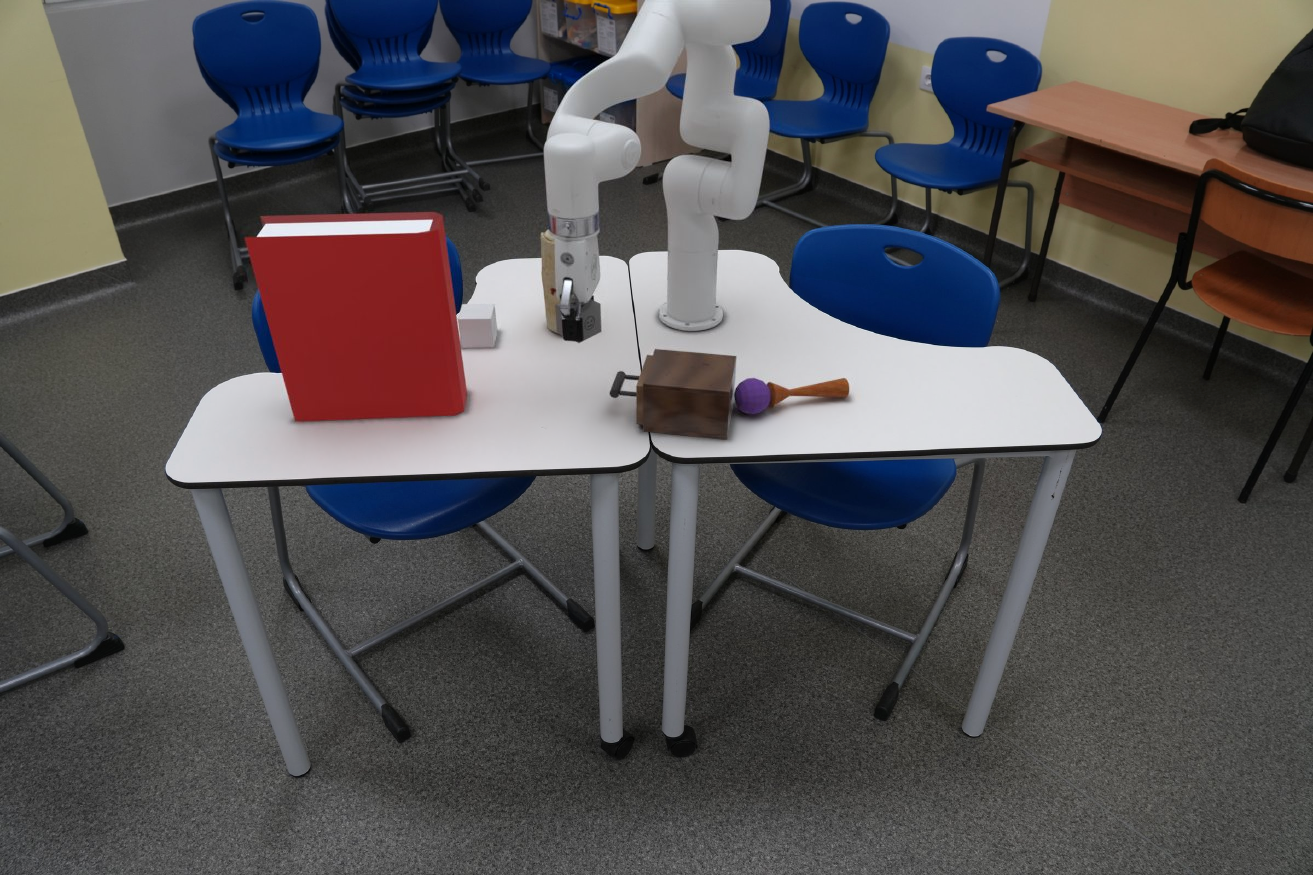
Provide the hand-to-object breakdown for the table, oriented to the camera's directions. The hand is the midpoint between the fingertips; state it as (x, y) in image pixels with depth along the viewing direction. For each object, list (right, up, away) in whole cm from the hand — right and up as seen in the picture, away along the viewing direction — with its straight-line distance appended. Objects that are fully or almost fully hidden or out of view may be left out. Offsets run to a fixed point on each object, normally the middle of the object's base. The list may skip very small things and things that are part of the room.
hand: (579, 328), depth 144 cm
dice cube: (0, -1, +1) cm, 1 cm away
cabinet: (+18, -14, +6) cm, 23 cm away
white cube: (-21, +1, +27) cm, 34 cm away
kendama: (+35, -12, +9) cm, 38 cm away
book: (-34, -12, +9) cm, 37 cm away
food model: (-6, +4, +32) cm, 32 cm away
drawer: (+14, -13, +6) cm, 20 cm away
